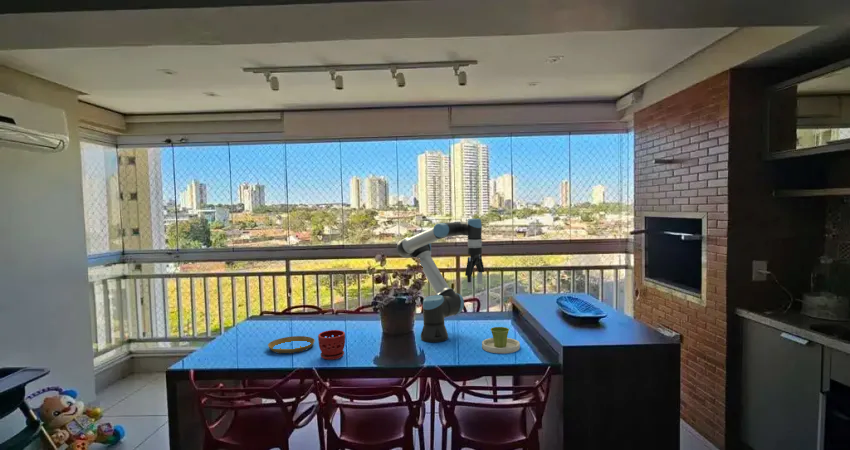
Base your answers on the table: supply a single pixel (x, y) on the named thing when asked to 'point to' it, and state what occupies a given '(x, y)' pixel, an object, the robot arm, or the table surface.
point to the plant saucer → (289, 339)
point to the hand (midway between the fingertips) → (475, 286)
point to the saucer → (510, 347)
